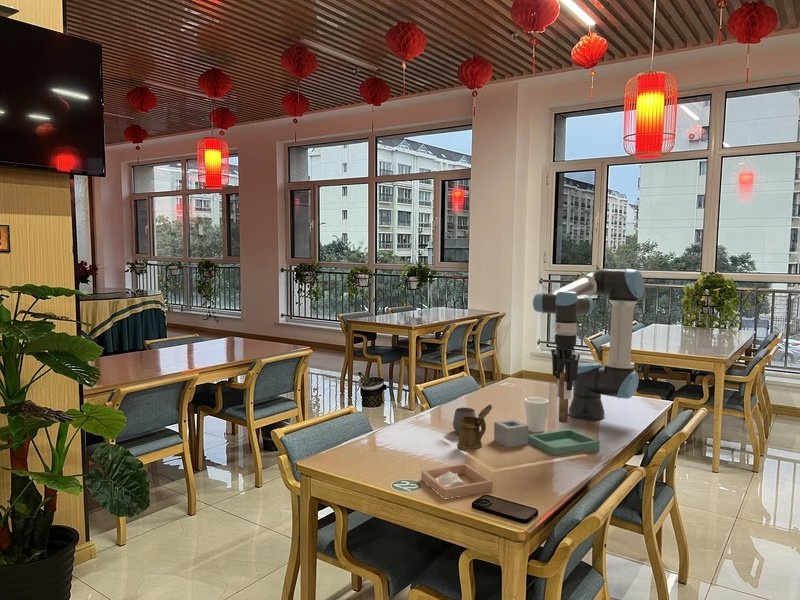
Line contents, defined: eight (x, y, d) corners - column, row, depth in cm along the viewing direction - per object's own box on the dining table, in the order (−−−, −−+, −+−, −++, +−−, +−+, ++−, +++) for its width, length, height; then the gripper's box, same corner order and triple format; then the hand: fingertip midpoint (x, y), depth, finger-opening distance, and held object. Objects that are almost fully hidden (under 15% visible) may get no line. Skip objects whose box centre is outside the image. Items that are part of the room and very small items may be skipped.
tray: (570, 437, 225) (570, 428, 225) (599, 450, 211) (599, 441, 210) (527, 444, 217) (527, 435, 217) (554, 458, 203) (554, 448, 202)
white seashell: (460, 480, 173) (429, 476, 175) (460, 494, 173) (429, 490, 176) (467, 468, 182) (437, 465, 185) (467, 482, 182) (437, 478, 185)
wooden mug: (483, 457, 204) (483, 406, 202) (452, 448, 213) (452, 400, 212) (497, 450, 211) (497, 402, 209) (466, 442, 220) (467, 395, 218)
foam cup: (548, 436, 227) (549, 403, 225) (524, 434, 228) (524, 402, 227) (547, 429, 236) (548, 397, 235) (524, 427, 238) (524, 396, 237)
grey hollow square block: (514, 439, 223) (514, 419, 222) (528, 446, 214) (528, 425, 214) (494, 442, 219) (494, 421, 219) (507, 450, 211) (507, 428, 210)
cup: (452, 431, 233) (452, 406, 232) (475, 431, 233) (475, 406, 232) (453, 438, 224) (453, 413, 223) (477, 438, 224) (478, 413, 223)
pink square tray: (465, 471, 190) (465, 463, 190) (492, 490, 175) (493, 481, 175) (420, 479, 184) (420, 470, 183) (444, 500, 169) (444, 490, 168)
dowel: (563, 419, 215) (565, 372, 214) (569, 422, 212) (570, 373, 211) (556, 420, 214) (558, 372, 212) (562, 423, 211) (563, 374, 209)
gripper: (543, 331, 216) (541, 393, 218) (572, 337, 201) (570, 403, 203) (559, 330, 219) (557, 391, 221) (589, 336, 204) (587, 401, 206)
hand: (563, 397), depth 212 cm, fingers closed on dowel, 3 cm apart
